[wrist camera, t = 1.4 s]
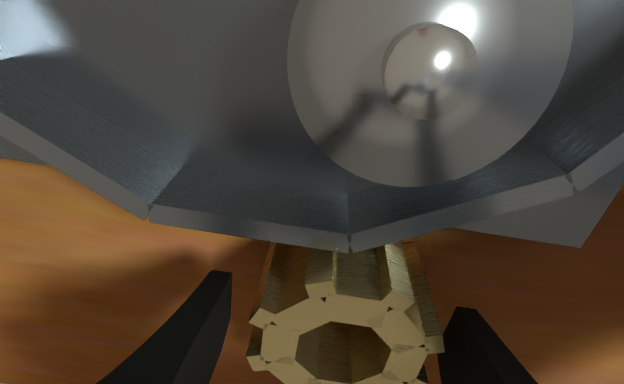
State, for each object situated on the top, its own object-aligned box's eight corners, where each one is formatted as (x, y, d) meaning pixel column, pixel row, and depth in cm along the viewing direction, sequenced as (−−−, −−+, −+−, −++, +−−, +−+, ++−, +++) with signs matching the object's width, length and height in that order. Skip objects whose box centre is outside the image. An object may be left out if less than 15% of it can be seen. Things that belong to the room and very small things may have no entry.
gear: (434, 213, 12) (471, 302, 9) (393, 320, 15) (409, 419, 12) (277, 188, 12) (252, 268, 9) (265, 300, 15) (242, 394, 12)
